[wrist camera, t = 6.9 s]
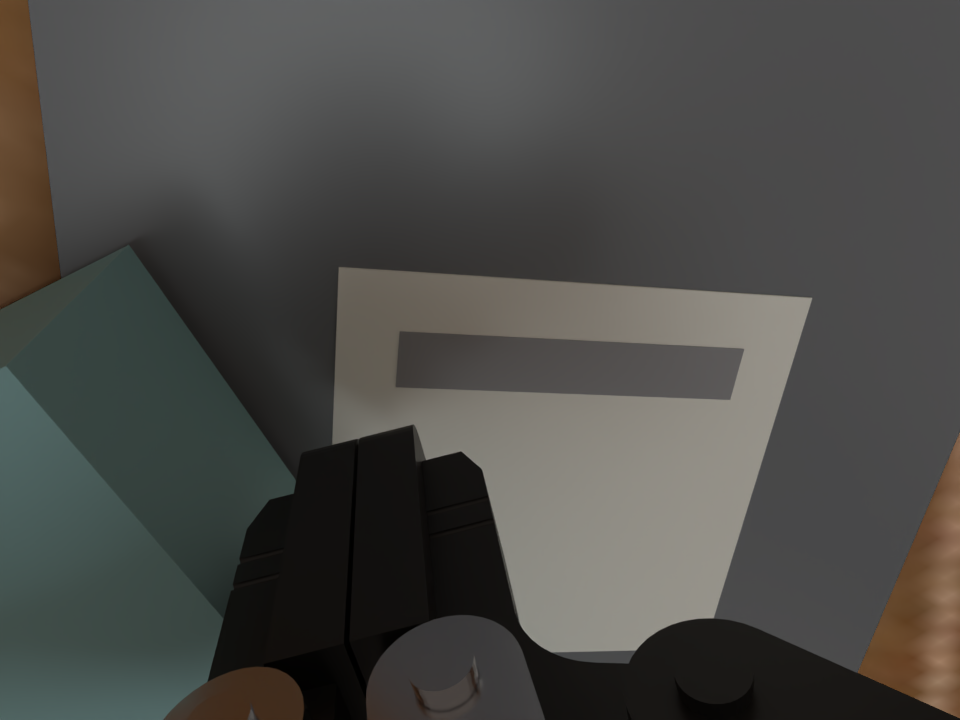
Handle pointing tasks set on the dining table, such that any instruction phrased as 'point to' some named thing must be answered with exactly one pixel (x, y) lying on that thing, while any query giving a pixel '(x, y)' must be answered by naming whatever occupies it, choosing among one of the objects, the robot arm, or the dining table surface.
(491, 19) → the label panel
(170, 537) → the block
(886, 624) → the dining table surface
